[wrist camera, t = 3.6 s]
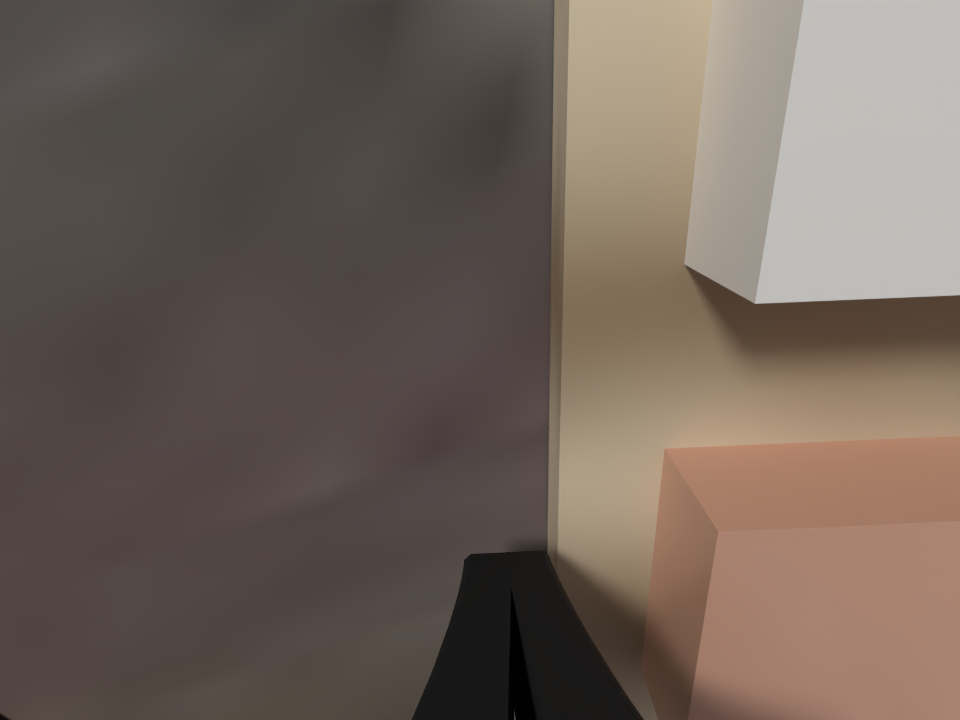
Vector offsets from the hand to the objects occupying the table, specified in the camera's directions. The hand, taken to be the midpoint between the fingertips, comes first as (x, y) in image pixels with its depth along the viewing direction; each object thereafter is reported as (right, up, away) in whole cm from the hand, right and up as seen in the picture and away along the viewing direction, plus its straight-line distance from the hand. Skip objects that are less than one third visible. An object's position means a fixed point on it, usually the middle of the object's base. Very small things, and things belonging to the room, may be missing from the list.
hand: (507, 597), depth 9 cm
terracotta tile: (+5, 0, 0) cm, 5 cm away
